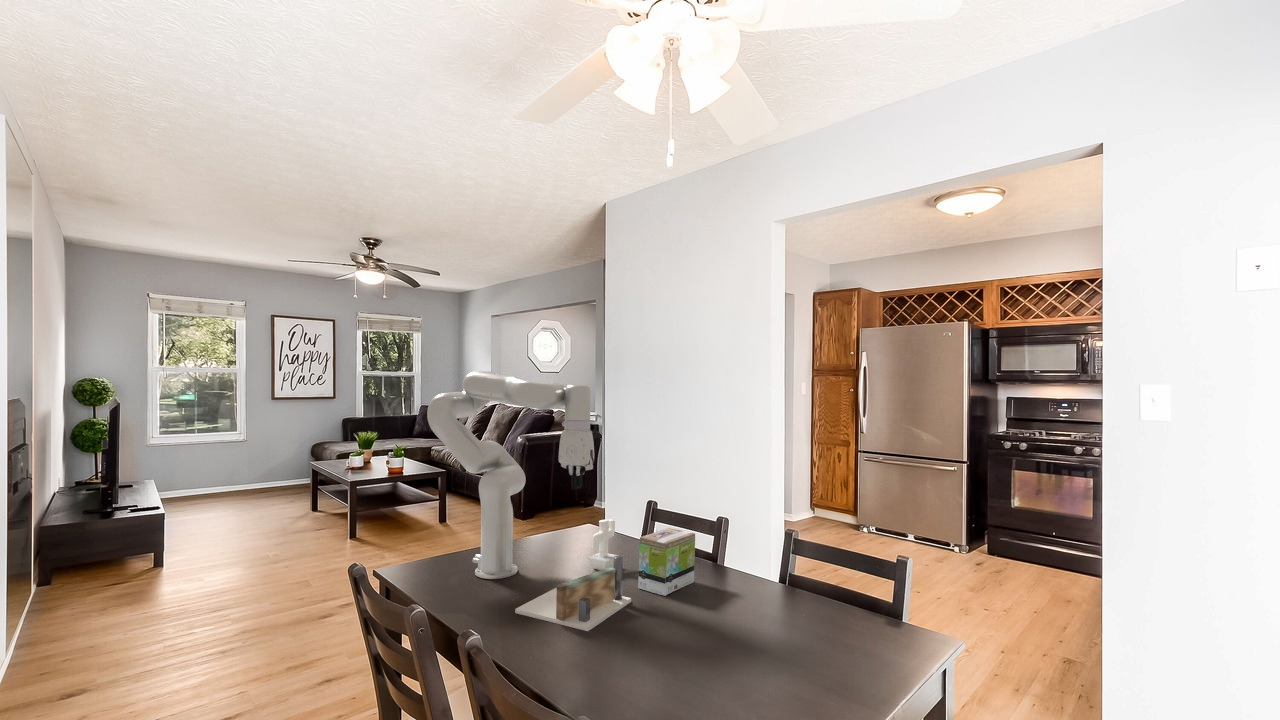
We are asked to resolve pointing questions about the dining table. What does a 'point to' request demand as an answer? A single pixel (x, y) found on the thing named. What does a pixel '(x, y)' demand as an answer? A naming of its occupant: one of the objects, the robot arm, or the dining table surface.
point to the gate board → (546, 611)
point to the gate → (585, 592)
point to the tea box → (666, 561)
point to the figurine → (603, 546)
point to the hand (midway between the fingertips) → (576, 488)
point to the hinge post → (617, 565)
